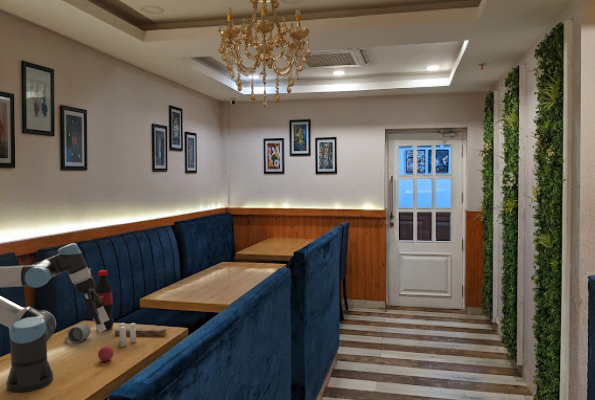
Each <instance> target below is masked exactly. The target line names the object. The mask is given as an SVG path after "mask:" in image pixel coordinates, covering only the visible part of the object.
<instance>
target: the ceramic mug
mask: <svg viewBox="0 0 595 400" xmlns="http://www.w3.org/2000/svg"><path fill="white" fill-rule="evenodd" d="M90 334H91V327H90V326H89V325H88V324H87V323H79V324H77V325H75V326H73V327H71V328H70V329H69V330H68V332H67V337H65V338H64V340H65V342H67V341H70V343H73V344H78V343H81V342H82V341H84V340H85V339H87V338H88V337H90Z"/></svg>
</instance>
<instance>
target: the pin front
mask: <svg viewBox="0 0 595 400" xmlns="http://www.w3.org/2000/svg"><path fill="white" fill-rule="evenodd" d="M126 329H127V328H126V326H125V327H120V336H119V343H120V347H121V348H125V347H126V346H127V336H126ZM124 346H125V347H124Z"/></svg>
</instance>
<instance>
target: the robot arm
mask: <svg viewBox="0 0 595 400" xmlns="http://www.w3.org/2000/svg"><path fill="white" fill-rule="evenodd" d="M65 272H67V273H68V276H69V278H70V281H71V282H72V284H74V285H73V286H74V288H75V290H76V293H83V295H82V298H83V299H84V303H85V305H86V309H87V311H88V314H89V320H93V323H94V324H95V328H96V327H97V328H96V329H97V331H98V332H99V333H102V332H104V330H105V331H107V330H106V328H105V325H104V322H106V321H108V320H109V318H108V316H107V314H106V312H105V309H104V307H103V305H104V303H102V301H101V299H100V298H99V296H98V294H97V293H96V291H95V286H96V284H97V282H96V281H95V278H94V277H93V276H92V273H91V268H89V266H88V264H87V261H86V260H85V257H84V256H83V253H82V251H81V249H80V248H79V246H78V244H77V243H75V242H73V243H70V244H66V245H65V246H62V247H60V248H58V250H57V254H55V255H53V256H50V257H48V258H45V259H44V260H41V261H37V262H35V263H34V264H30V265H29V264H28V265H12V266H0V288H12V287H14V288H15V287H31V288H41V287H44V285H47V284H48V282H49V281H50V280H52V278H53V277H56V276H58V275H60V274H62V273H63V274H64V273H65ZM97 308H98V309H97ZM0 324H1V325H3V326H5V327H7V328H8V330H9V331H8V333H9V343H10V345H9V346H10V364H11V366H10V370H9V373H8V376H7V380H6V390H7V391H8V392H10V393H26V392H31V391H32V392H33V391H36V390H38V389H42V388H44V387H46V386H48V385H50V384H51V383H52V382H53V381H54V372H53V370H52V368H51V365H50V363H49V361H48V347H47V345H48V342H49V340H50V339H51V337H53V335H54V334H55V331H56V328H57V322H56V318H55V316H54V315H53V314H52V313H51V312H49V311H47V310H40V309H39V310H38V309H35V308H33V307H31V306H26V307H23V306H20V305H18V304H16V303H15V302H13V301H10V300H9V299H7V298H5V297H3V296H1V295H0Z"/></svg>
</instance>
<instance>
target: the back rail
mask: <svg viewBox="0 0 595 400" xmlns="http://www.w3.org/2000/svg"><path fill="white" fill-rule="evenodd" d="M166 330H167V329H166V328H136V337H141V336H142V337H146V336H147V337H152V336H153V337H164V336H165V335H166V334H167V332H166ZM115 335H120V331H119V328H116V329H115V330H114V336H115ZM126 335H130V328H126Z"/></svg>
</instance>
